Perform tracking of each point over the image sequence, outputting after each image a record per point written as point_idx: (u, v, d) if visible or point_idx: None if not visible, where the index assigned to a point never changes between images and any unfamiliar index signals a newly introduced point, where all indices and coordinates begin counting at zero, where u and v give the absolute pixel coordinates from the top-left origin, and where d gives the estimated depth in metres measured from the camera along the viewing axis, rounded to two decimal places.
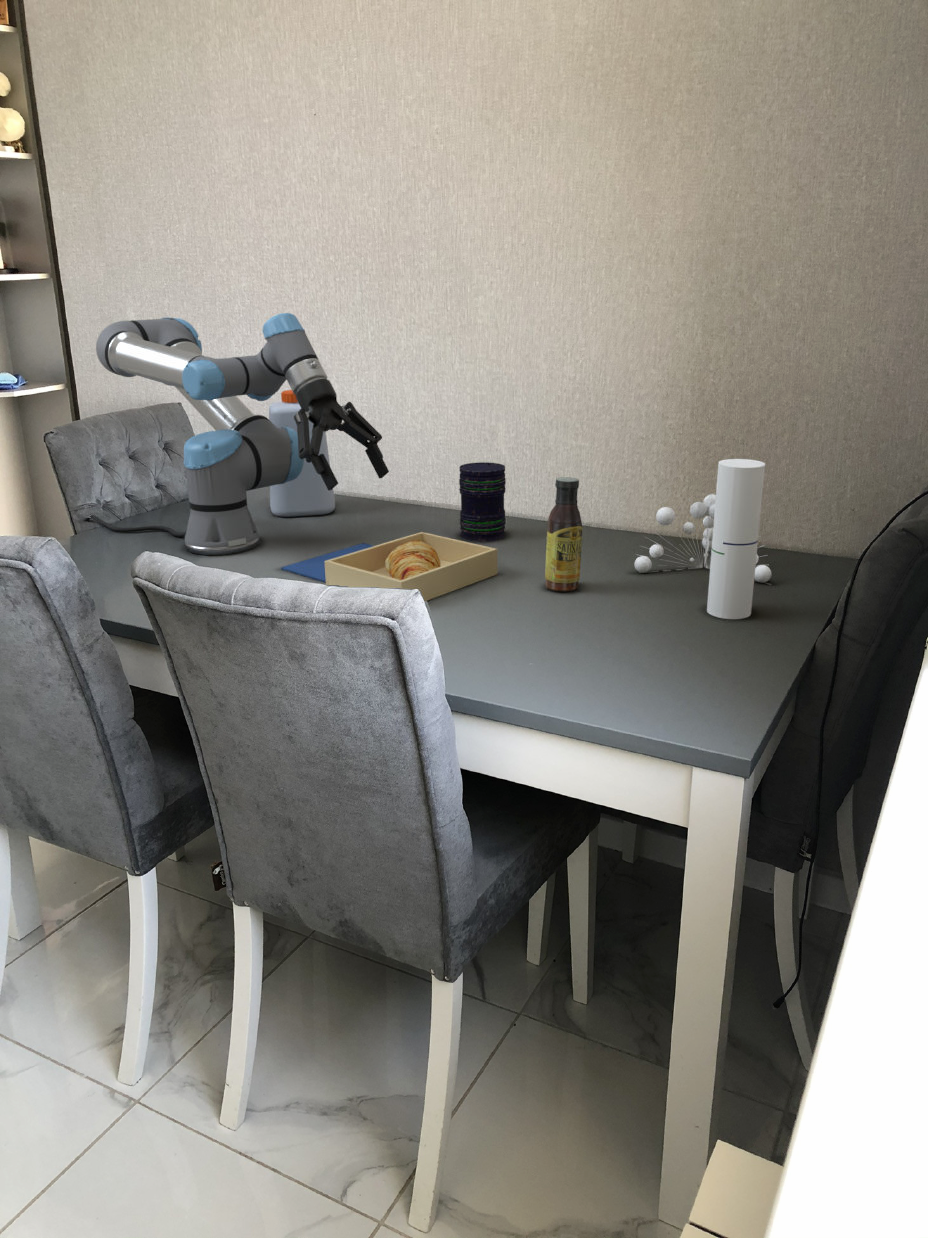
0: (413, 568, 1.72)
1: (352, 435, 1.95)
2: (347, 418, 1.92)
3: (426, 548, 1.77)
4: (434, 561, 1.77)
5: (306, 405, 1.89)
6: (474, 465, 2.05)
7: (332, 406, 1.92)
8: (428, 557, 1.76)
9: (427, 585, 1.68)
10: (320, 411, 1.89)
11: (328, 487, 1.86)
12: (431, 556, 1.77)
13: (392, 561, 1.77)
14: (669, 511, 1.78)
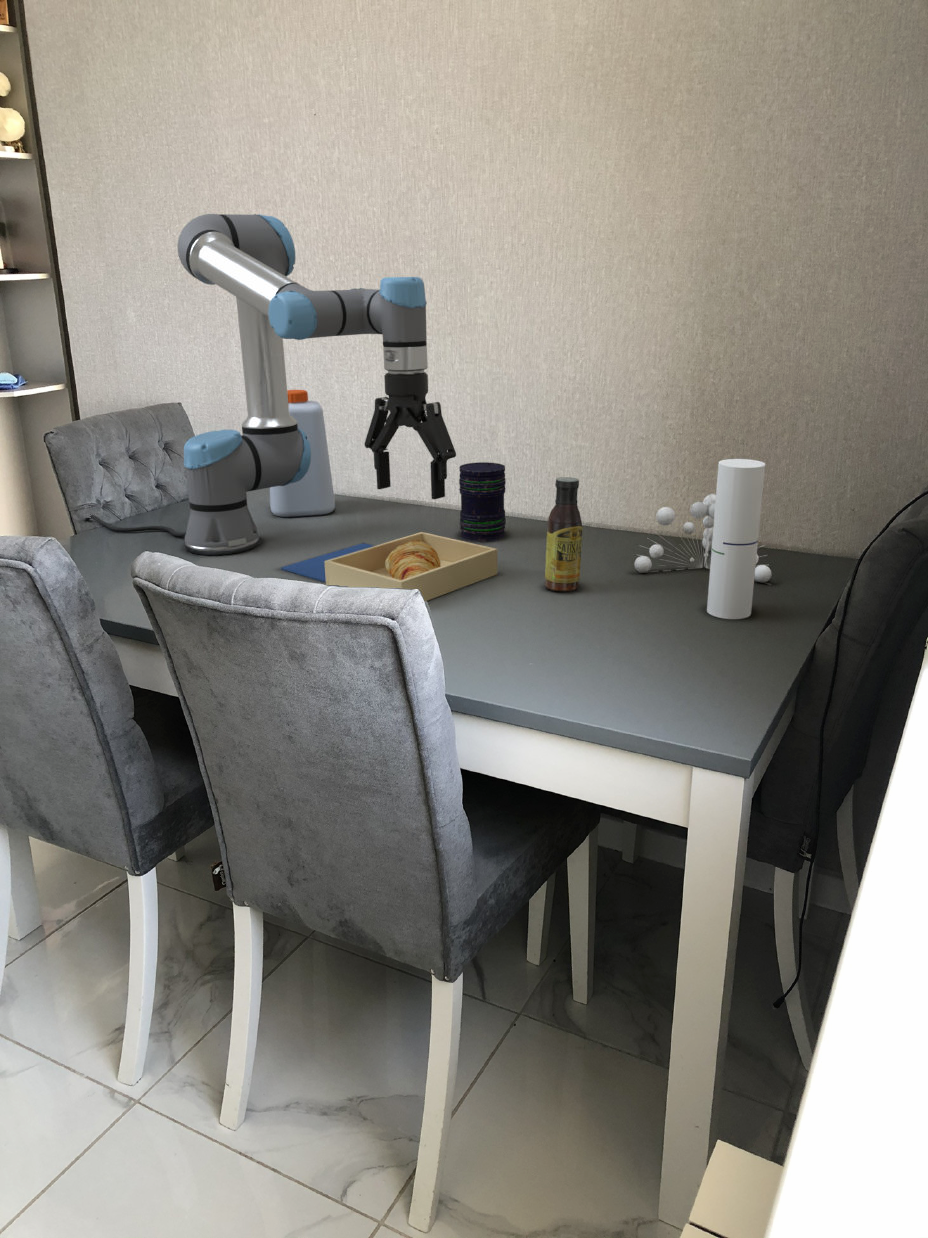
0: (413, 568, 1.72)
1: None
2: (414, 424, 1.66)
3: (426, 548, 1.77)
4: (434, 561, 1.77)
5: None
6: (474, 465, 2.05)
7: (409, 403, 1.67)
8: (428, 557, 1.76)
9: (427, 585, 1.68)
10: (394, 406, 1.69)
11: None
12: (431, 556, 1.77)
13: (392, 561, 1.77)
14: (669, 511, 1.78)
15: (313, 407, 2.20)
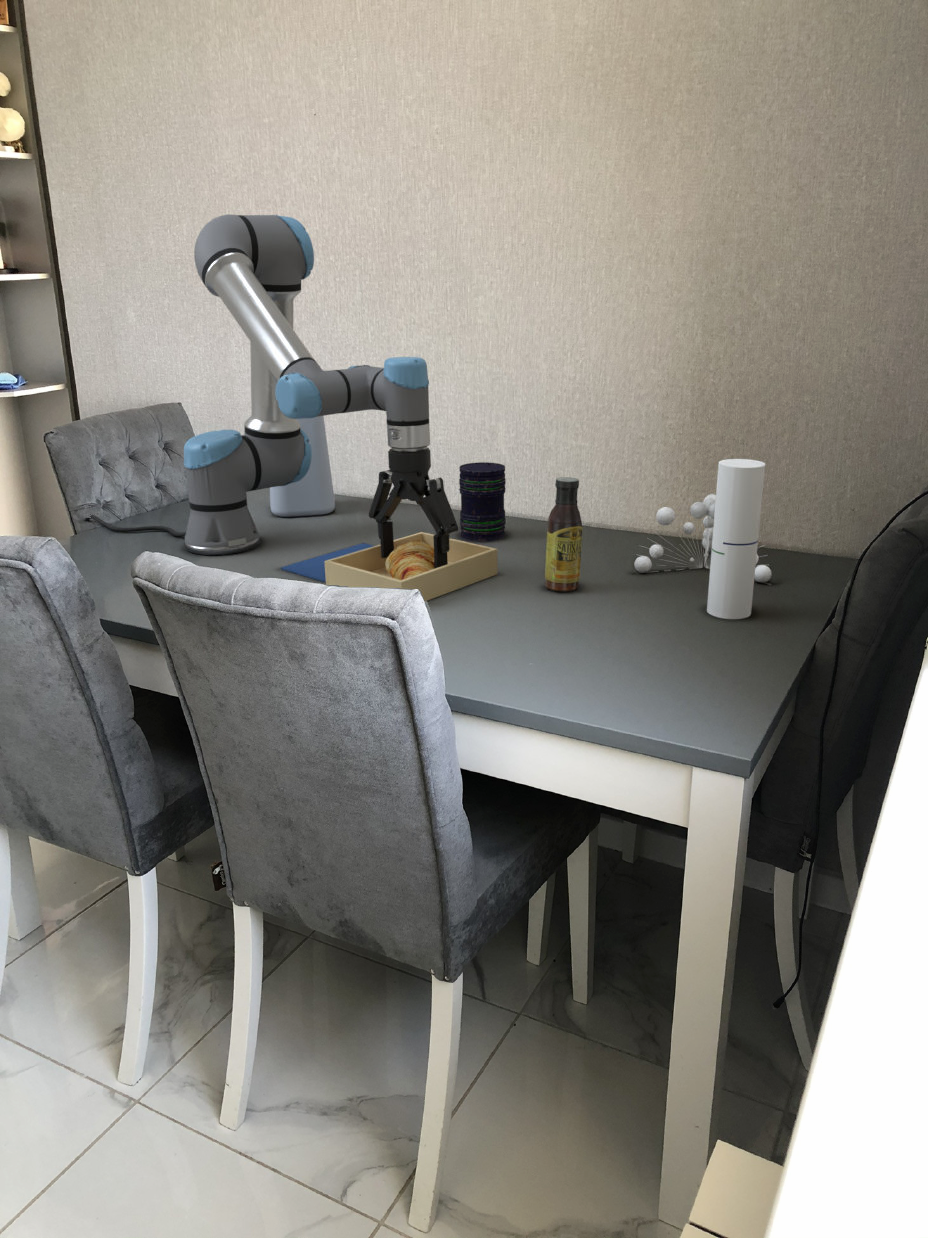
0: (413, 568, 1.72)
1: None
2: (417, 499, 1.71)
3: (426, 548, 1.77)
4: None
5: None
6: (474, 465, 2.05)
7: (412, 479, 1.71)
8: (428, 557, 1.76)
9: (427, 585, 1.68)
10: (398, 480, 1.73)
11: None
12: (431, 556, 1.77)
13: (392, 561, 1.77)
14: (669, 511, 1.78)
15: None
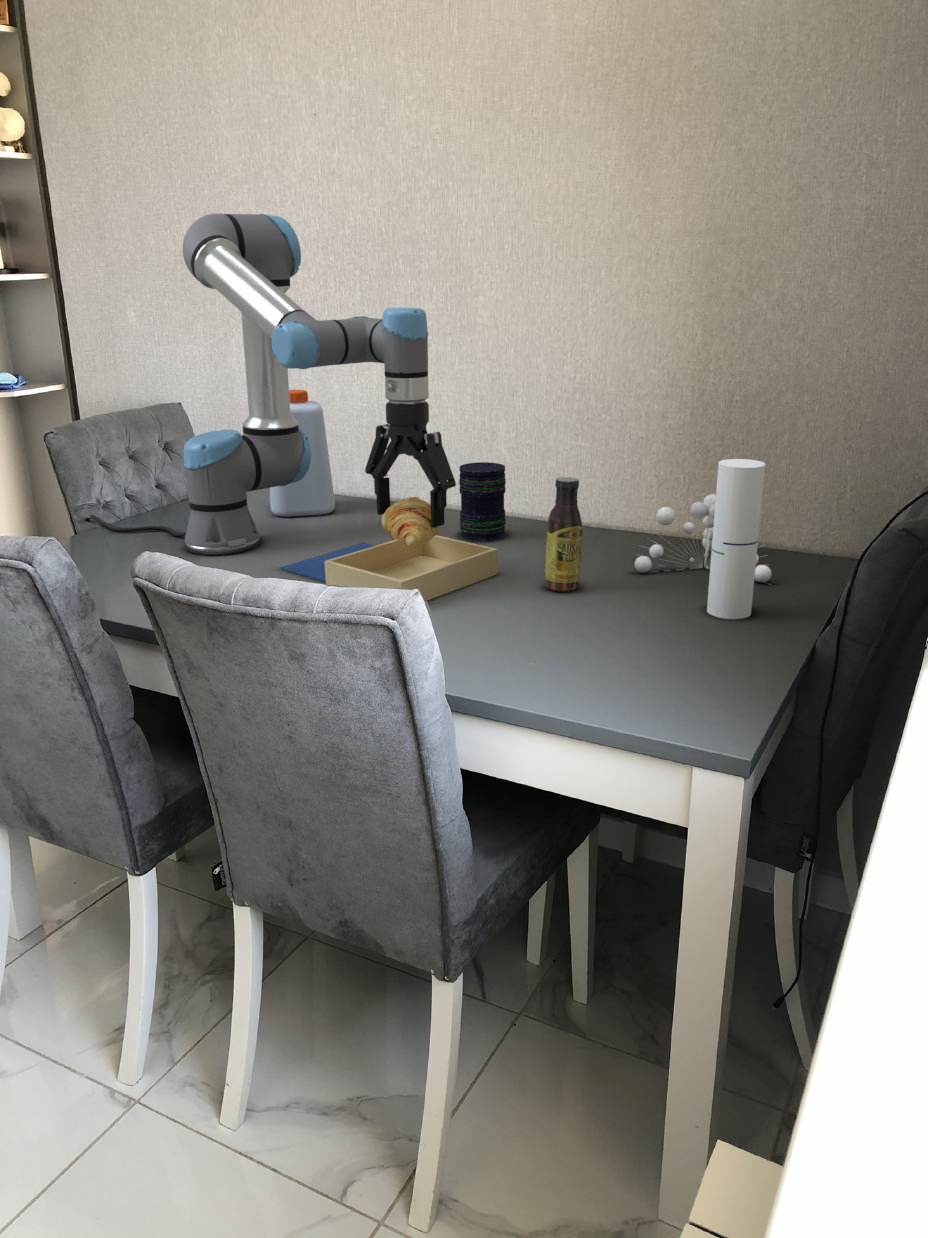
0: (409, 524, 1.69)
1: None
2: (414, 453, 1.68)
3: (423, 505, 1.75)
4: None
5: None
6: (474, 465, 2.05)
7: (410, 433, 1.68)
8: (425, 514, 1.74)
9: (427, 585, 1.68)
10: (395, 434, 1.71)
11: None
12: (428, 513, 1.74)
13: (388, 517, 1.74)
14: (669, 511, 1.78)
15: (313, 407, 2.20)
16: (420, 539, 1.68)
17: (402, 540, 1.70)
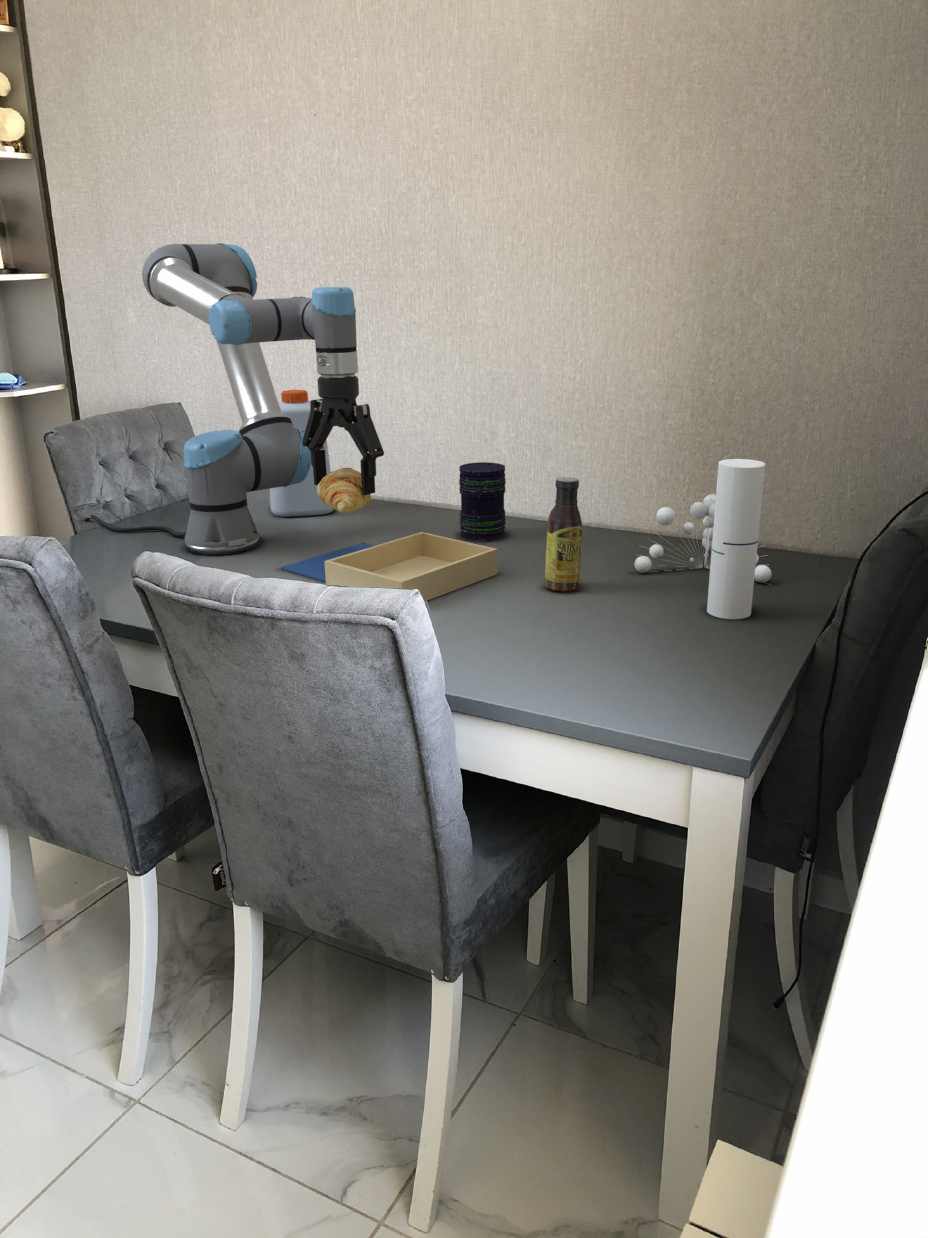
0: (341, 492, 1.79)
1: None
2: (345, 425, 1.78)
3: (356, 474, 1.84)
4: None
5: None
6: (474, 465, 2.05)
7: (340, 405, 1.78)
8: (357, 483, 1.84)
9: (427, 585, 1.68)
10: (328, 407, 1.81)
11: None
12: (360, 482, 1.84)
13: (322, 486, 1.84)
14: (669, 511, 1.78)
15: None
16: (350, 505, 1.77)
17: (334, 507, 1.80)
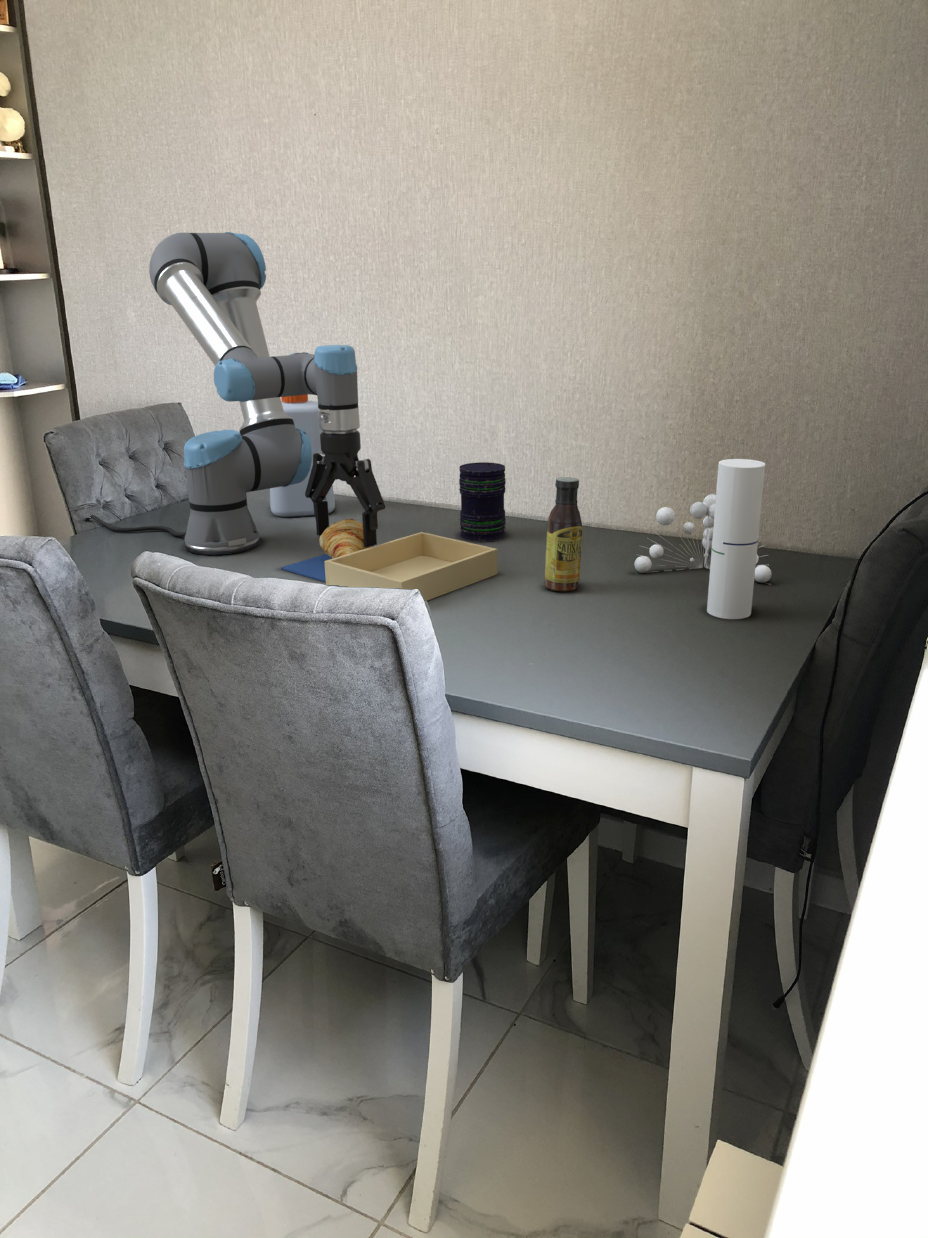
0: (343, 544, 1.82)
1: None
2: (347, 479, 1.82)
3: (358, 526, 1.88)
4: None
5: None
6: (474, 465, 2.05)
7: (342, 460, 1.82)
8: (359, 534, 1.87)
9: (427, 585, 1.68)
10: (330, 461, 1.84)
11: None
12: (362, 534, 1.88)
13: (325, 538, 1.87)
14: (669, 511, 1.78)
15: (313, 407, 2.20)
16: None
17: None
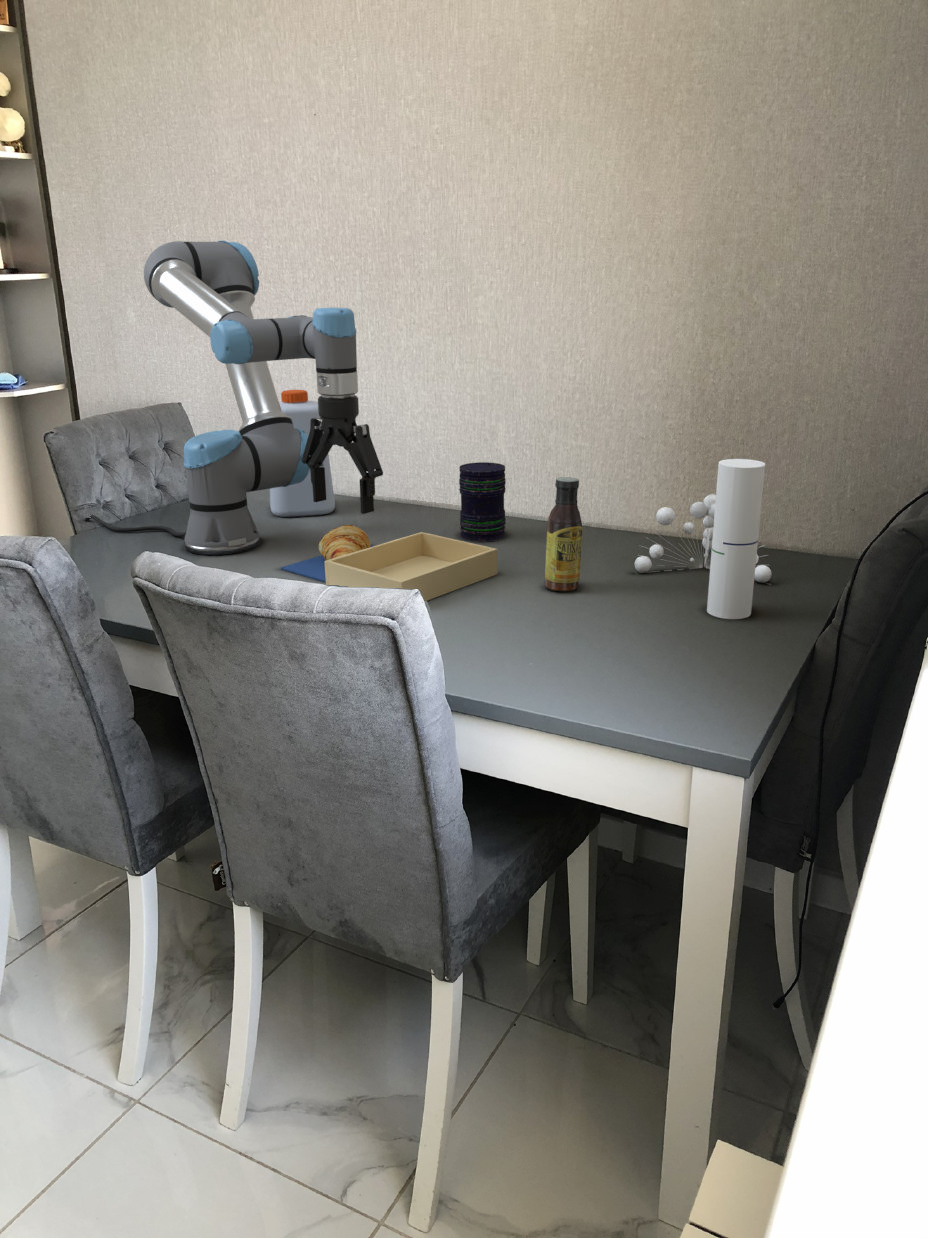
0: (341, 550, 1.83)
1: None
2: (344, 444, 1.79)
3: (357, 532, 1.89)
4: (363, 544, 1.88)
5: None
6: (474, 465, 2.05)
7: (340, 425, 1.80)
8: (358, 540, 1.88)
9: (427, 585, 1.68)
10: (328, 426, 1.82)
11: None
12: (361, 539, 1.88)
13: (324, 544, 1.89)
14: (669, 511, 1.78)
15: (313, 407, 2.20)
16: None
17: None
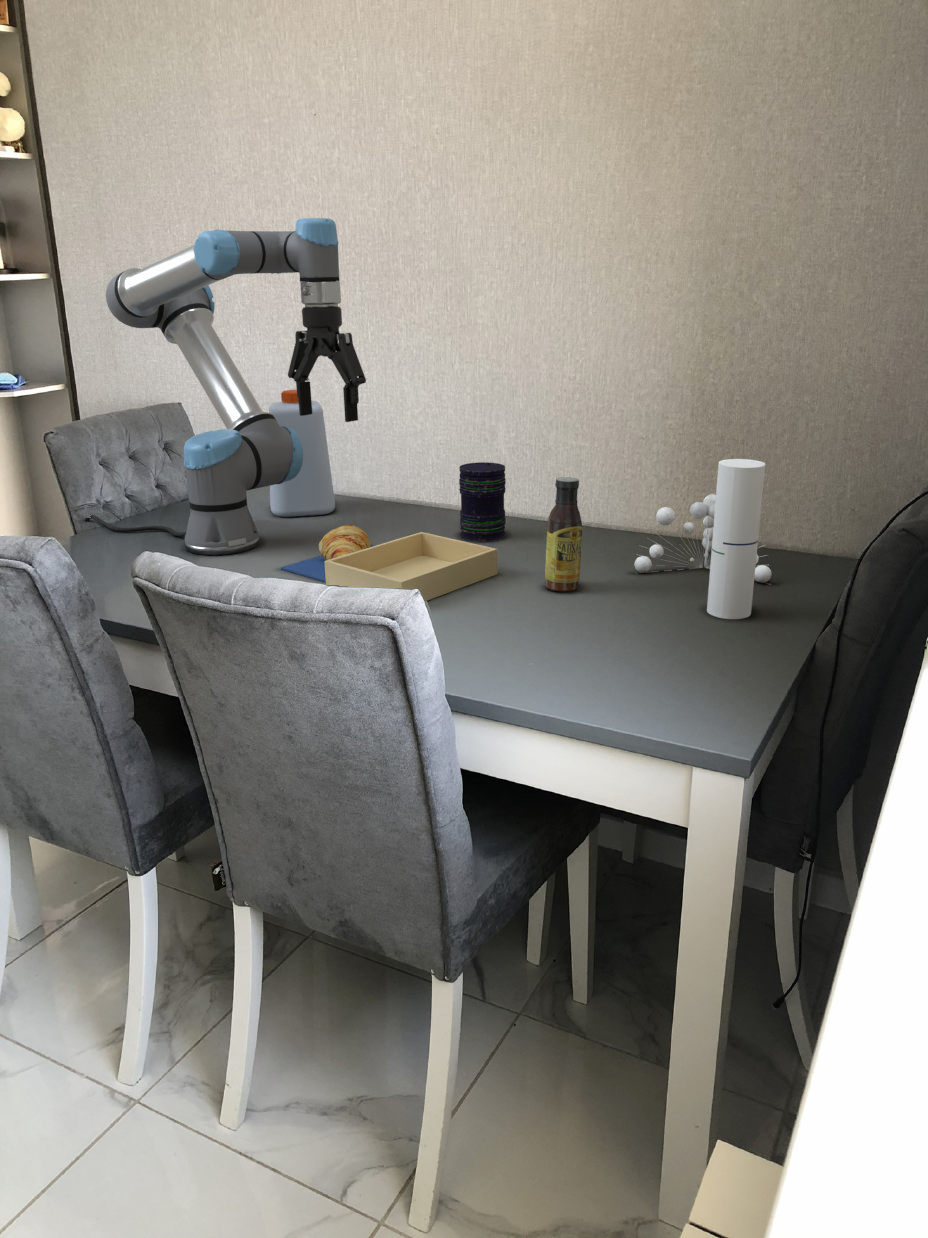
0: (341, 550, 1.83)
1: None
2: (328, 353, 1.84)
3: (357, 532, 1.89)
4: (363, 544, 1.88)
5: None
6: (474, 465, 2.05)
7: (324, 334, 1.85)
8: (358, 540, 1.88)
9: (427, 585, 1.68)
10: (312, 337, 1.87)
11: None
12: (361, 539, 1.88)
13: (324, 544, 1.89)
14: (669, 511, 1.78)
15: (313, 407, 2.20)
16: None
17: None
